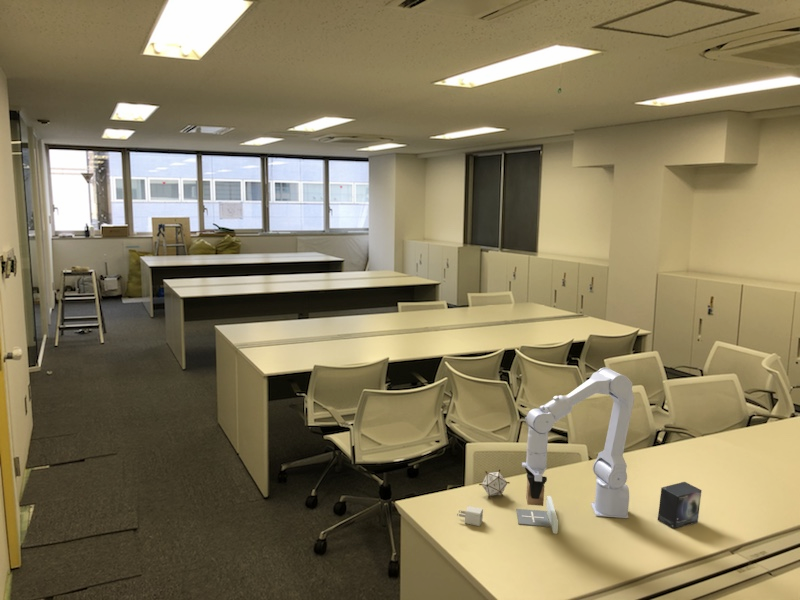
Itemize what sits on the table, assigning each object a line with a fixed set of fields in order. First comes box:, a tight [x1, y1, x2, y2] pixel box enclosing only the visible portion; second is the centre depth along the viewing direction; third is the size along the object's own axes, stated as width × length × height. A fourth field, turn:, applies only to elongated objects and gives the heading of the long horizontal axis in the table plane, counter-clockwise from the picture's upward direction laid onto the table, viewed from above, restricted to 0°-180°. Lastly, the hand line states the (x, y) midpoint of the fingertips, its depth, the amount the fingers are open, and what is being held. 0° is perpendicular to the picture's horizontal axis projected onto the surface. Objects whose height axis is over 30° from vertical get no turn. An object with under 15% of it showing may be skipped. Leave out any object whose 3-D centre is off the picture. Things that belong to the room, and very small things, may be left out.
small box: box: [657, 481, 703, 530], centre depth 183 cm, size 11×6×10 cm, turn 117°
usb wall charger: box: [456, 505, 484, 527], centre depth 180 cm, size 4×7×4 cm, turn 70°
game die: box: [478, 468, 511, 499], centre depth 197 cm, size 9×8×10 cm
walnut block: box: [525, 479, 545, 507], centre depth 182 cm, size 4×4×6 cm
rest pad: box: [515, 508, 551, 528], centre depth 184 cm, size 9×9×1 cm
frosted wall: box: [545, 495, 559, 535], centre depth 183 cm, size 1×16×4 cm, turn 173°
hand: (534, 494), depth 183 cm, fingers closed on walnut block, 4 cm apart
